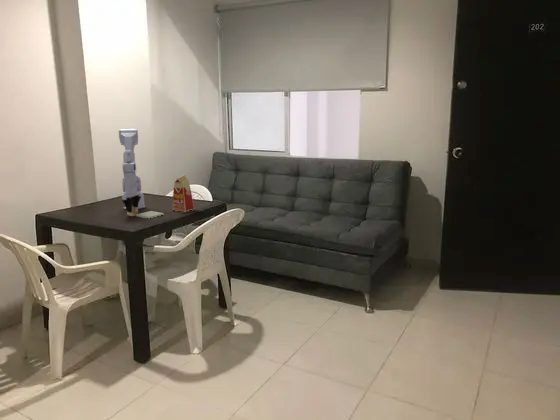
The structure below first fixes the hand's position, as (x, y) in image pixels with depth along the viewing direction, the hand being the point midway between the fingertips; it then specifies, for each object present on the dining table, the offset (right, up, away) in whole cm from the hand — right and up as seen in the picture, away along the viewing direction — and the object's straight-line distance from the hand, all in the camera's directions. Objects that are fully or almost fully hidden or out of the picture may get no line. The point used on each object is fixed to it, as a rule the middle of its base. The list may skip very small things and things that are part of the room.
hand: (132, 210), depth 247 cm
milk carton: (+25, 0, +12) cm, 27 cm away
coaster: (+10, -3, -1) cm, 10 cm away
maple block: (0, -2, 0) cm, 2 cm away
